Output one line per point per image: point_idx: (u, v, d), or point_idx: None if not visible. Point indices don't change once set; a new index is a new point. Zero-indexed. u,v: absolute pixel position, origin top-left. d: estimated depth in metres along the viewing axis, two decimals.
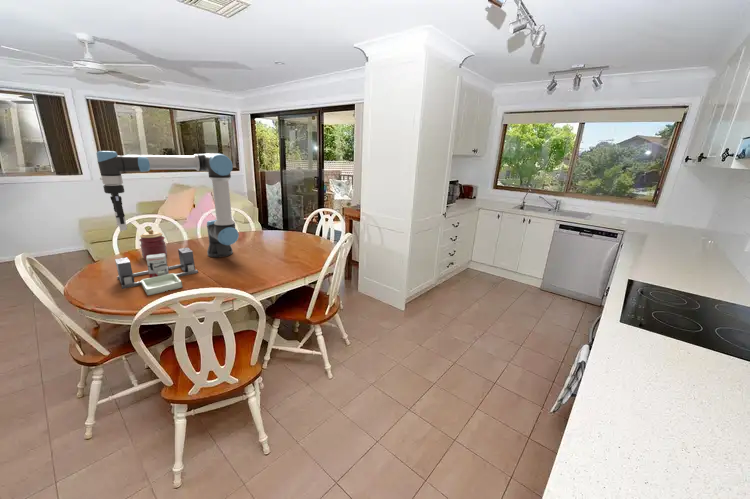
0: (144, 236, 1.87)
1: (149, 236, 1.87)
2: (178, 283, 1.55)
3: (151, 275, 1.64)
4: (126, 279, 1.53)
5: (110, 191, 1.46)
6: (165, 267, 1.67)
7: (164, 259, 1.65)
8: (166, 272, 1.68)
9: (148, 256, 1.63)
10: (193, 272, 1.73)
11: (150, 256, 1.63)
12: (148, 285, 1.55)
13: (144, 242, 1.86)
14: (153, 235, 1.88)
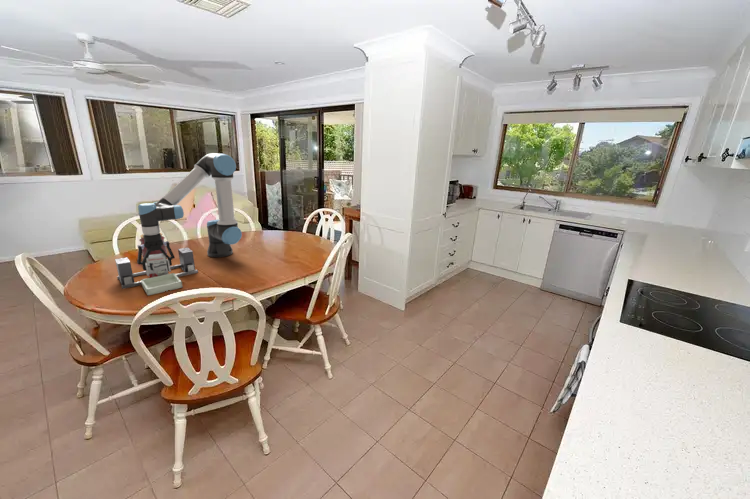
0: None
1: None
2: (178, 283, 1.55)
3: (151, 275, 1.64)
4: (126, 279, 1.53)
5: None
6: (165, 267, 1.67)
7: (164, 259, 1.65)
8: (166, 272, 1.68)
9: None
10: (193, 272, 1.73)
11: (150, 256, 1.63)
12: (148, 285, 1.55)
13: None
14: None
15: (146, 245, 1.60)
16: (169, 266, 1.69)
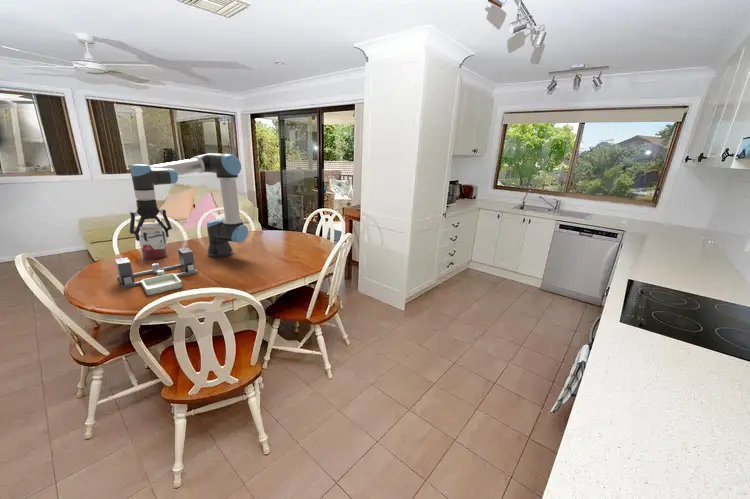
0: None
1: None
2: (178, 283, 1.55)
3: (145, 246, 1.46)
4: (126, 279, 1.53)
5: None
6: (161, 238, 1.49)
7: (160, 229, 1.47)
8: (162, 244, 1.50)
9: (142, 225, 1.45)
10: (193, 272, 1.73)
11: (144, 225, 1.45)
12: (148, 285, 1.55)
13: None
14: None
15: (139, 212, 1.42)
16: (165, 238, 1.51)
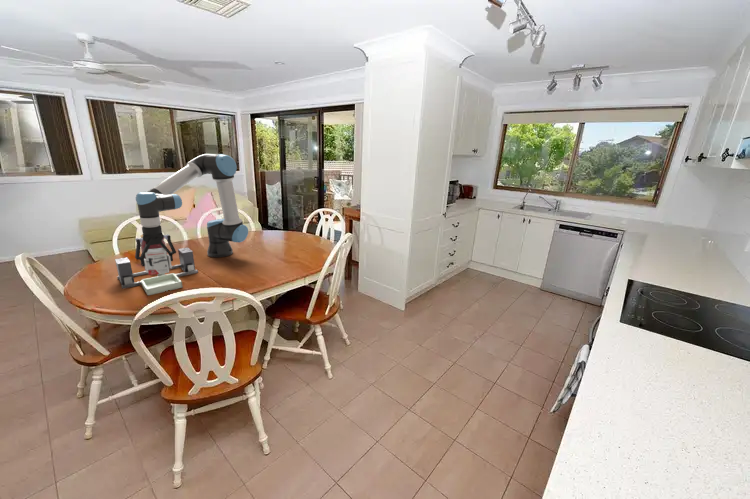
0: None
1: None
2: (178, 283, 1.55)
3: (150, 271, 1.50)
4: (126, 279, 1.53)
5: None
6: (165, 263, 1.52)
7: (164, 254, 1.51)
8: (166, 268, 1.53)
9: None
10: (193, 272, 1.73)
11: (149, 250, 1.49)
12: (148, 285, 1.55)
13: (144, 242, 1.86)
14: None
15: (145, 238, 1.45)
16: (170, 262, 1.55)
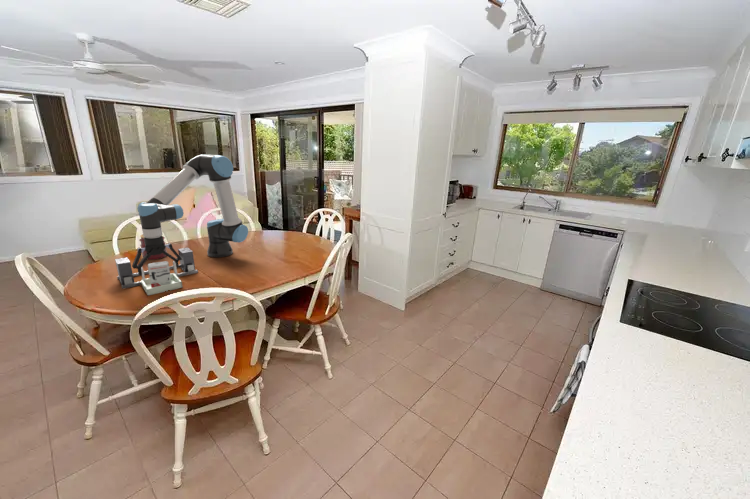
0: None
1: None
2: (178, 283, 1.55)
3: (153, 285, 1.52)
4: (126, 279, 1.53)
5: None
6: (168, 276, 1.55)
7: (167, 267, 1.53)
8: (169, 281, 1.55)
9: (150, 264, 1.51)
10: (193, 272, 1.73)
11: (152, 264, 1.51)
12: (148, 285, 1.55)
13: (144, 242, 1.86)
14: None
15: (147, 249, 1.47)
16: (176, 268, 1.58)
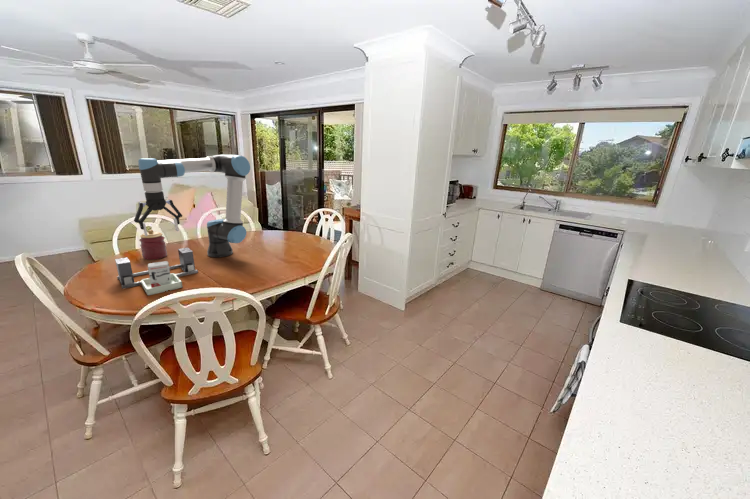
0: (144, 236, 1.87)
1: (149, 236, 1.87)
2: (178, 283, 1.55)
3: (153, 285, 1.52)
4: (126, 279, 1.53)
5: None
6: (168, 276, 1.55)
7: (167, 267, 1.53)
8: (169, 281, 1.55)
9: (150, 264, 1.51)
10: (193, 272, 1.73)
11: (152, 264, 1.51)
12: (148, 285, 1.55)
13: (144, 242, 1.86)
14: (153, 235, 1.88)
15: (148, 203, 1.50)
16: (177, 225, 1.61)
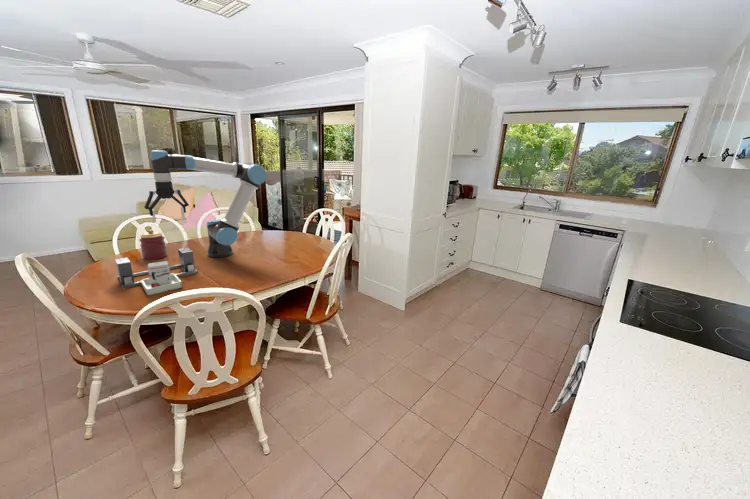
0: (144, 236, 1.87)
1: (149, 236, 1.87)
2: (178, 283, 1.55)
3: (153, 285, 1.52)
4: (126, 279, 1.53)
5: None
6: (168, 276, 1.55)
7: (167, 267, 1.53)
8: (169, 281, 1.55)
9: (150, 264, 1.51)
10: (193, 272, 1.73)
11: (152, 264, 1.51)
12: (148, 285, 1.55)
13: (144, 242, 1.86)
14: (153, 235, 1.88)
15: (158, 192, 1.63)
16: (183, 213, 1.73)
